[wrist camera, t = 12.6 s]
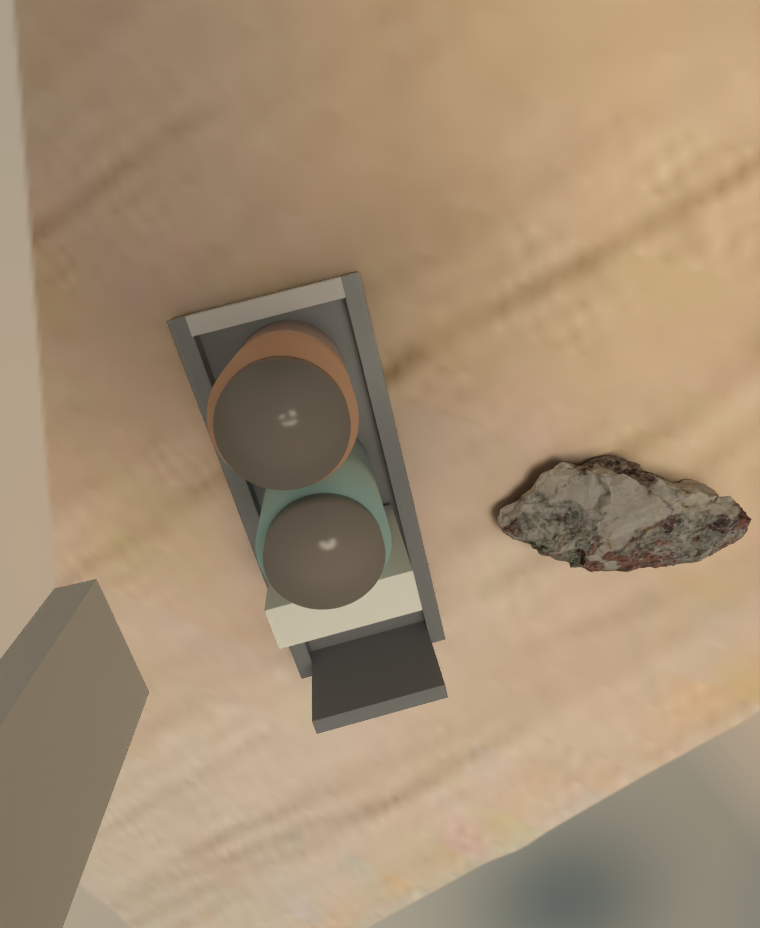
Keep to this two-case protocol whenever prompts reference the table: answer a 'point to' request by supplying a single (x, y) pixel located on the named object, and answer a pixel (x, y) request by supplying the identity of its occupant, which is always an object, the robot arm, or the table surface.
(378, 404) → the lane
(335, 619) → the pusher
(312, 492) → the jar teal
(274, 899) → the table surface
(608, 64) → the table surface
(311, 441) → the jar terracotta
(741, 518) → the mineral rock
